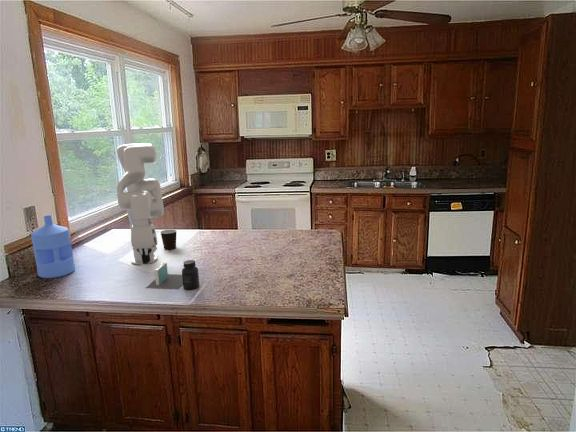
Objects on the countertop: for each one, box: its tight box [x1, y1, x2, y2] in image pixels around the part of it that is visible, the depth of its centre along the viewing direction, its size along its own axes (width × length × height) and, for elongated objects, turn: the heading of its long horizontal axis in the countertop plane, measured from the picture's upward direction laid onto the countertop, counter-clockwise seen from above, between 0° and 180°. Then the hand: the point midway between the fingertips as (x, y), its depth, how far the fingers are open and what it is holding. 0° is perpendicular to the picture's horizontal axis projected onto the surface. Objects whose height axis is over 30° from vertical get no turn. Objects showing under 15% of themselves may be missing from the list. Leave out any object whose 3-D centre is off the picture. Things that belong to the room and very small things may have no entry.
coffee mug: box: [160, 228, 177, 251], centre depth 224 cm, size 12×9×10 cm
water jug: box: [30, 215, 76, 279], centre depth 187 cm, size 16×16×28 cm
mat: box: [145, 273, 183, 290], centre depth 176 cm, size 16×15×1 cm
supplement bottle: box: [181, 259, 200, 291], centre depth 168 cm, size 7×7×12 cm
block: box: [154, 262, 169, 285], centre depth 175 cm, size 9×2×7 cm, turn 173°
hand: (146, 262), depth 174 cm, fingers closed
